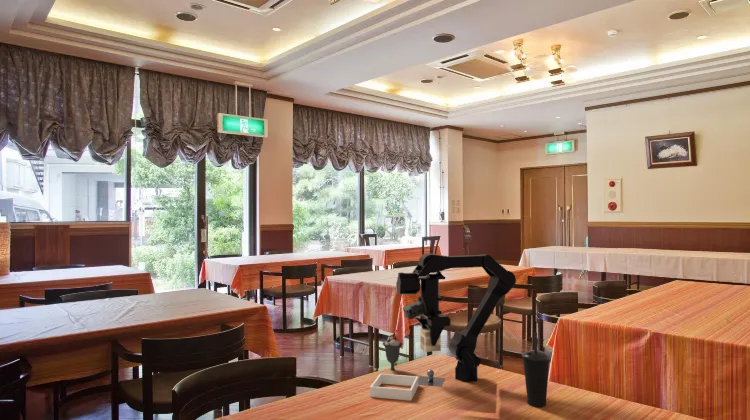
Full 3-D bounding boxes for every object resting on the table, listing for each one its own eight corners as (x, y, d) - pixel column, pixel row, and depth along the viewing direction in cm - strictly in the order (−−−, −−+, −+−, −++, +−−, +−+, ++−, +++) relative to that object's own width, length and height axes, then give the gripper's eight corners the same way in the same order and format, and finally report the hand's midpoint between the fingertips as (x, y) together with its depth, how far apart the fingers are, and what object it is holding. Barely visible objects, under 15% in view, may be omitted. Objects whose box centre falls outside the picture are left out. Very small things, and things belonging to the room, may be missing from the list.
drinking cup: (516, 401, 135) (515, 330, 136) (537, 397, 138) (536, 328, 139) (535, 411, 128) (534, 336, 129) (557, 406, 131) (556, 334, 132)
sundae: (401, 377, 157) (400, 331, 157) (381, 376, 158) (380, 330, 158) (404, 370, 163) (403, 327, 163) (384, 369, 164) (384, 326, 165)
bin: (418, 389, 145) (418, 376, 145) (411, 404, 134) (411, 390, 134) (380, 386, 148) (380, 373, 148) (370, 400, 137) (370, 386, 137)
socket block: (434, 346, 152) (434, 327, 153) (440, 350, 148) (440, 331, 148) (420, 347, 151) (419, 328, 151) (425, 351, 146) (425, 332, 146)
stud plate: (445, 381, 152) (444, 367, 152) (441, 390, 144) (441, 375, 144) (420, 379, 154) (420, 365, 154) (415, 388, 146) (415, 373, 146)
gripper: (396, 290, 157) (396, 338, 156) (415, 299, 139) (416, 353, 138) (428, 289, 160) (428, 335, 159) (451, 297, 141) (451, 350, 141)
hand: (430, 343), depth 149 cm, fingers closed on socket block, 5 cm apart
